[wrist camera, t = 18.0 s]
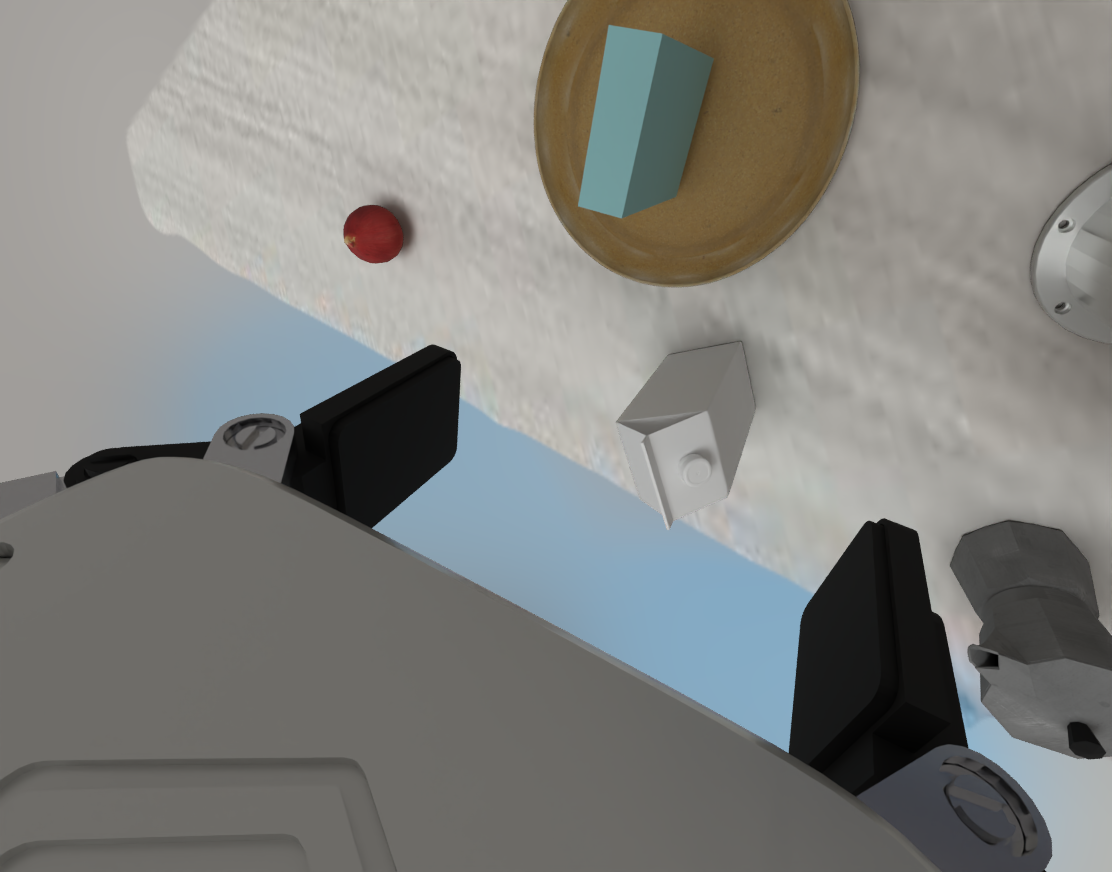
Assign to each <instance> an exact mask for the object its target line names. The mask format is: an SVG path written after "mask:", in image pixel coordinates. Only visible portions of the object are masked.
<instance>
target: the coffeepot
mask: <svg viewBox="0 0 1112 872" xmlns="http://www.w3.org/2000/svg"><path fill="white" fill-rule="evenodd" d="M950 567H951V569H952V570H953V572H954V574H955V576H956V578H957V580H958V581H959V583H960V585H961V587H962V589H963V590H964V592H965V594H966V596H967V598H968V599H969V601H970V603H971V605H972V607H973V608H974V610H975V612H976V614H977V615H978V616H979V618H980V619H981V620H982V622H983V623H984V624H983V626H982V628H981V631H980V633H979V642H980V645H974V644H972V645H970V646H969V647H968V657H969V661H970V662H971V663H972V664H973V665H974V666H975V668H976V669H977V670H978V671H979V672H980V685H981V702H982V703H983V705H984V706H985V707H986V708H987V709H988V710H989V711H990V713H991V714H992V715H993V716H994V717H995V718H996V719H997V720H998V722H999V723H1000V724H1001V725H1002V726H1003V727H1004V728H1005V730H1006V731H1007V732H1008V733H1009V734H1010V735H1011V736H1012V737H1013V738H1016V739H1019V740H1022V741H1025V742H1028V743H1032V744H1034V745H1038V746H1041V747H1044V748H1047V749H1050V750H1053V751H1056V752H1059V753H1062V754H1065V755H1068V756H1071V757H1074V758H1077V759H1082V758H1086V759H1100V758H1102V757H1110V756H1112V636H1111V634H1110V633H1109V632H1108V631H1107V629H1106V628H1105V627H1104V626H1103V625H1102V623H1101V622H1100V621H1099V620H1098V617H1099V610H1098V605H1097V600H1096V596H1095V591H1094V586H1093V581H1092V576H1091V571H1090V566H1089V562H1088V561H1087V560H1086V559H1085V557H1084V556H1083V555H1082V554H1081V553H1080V551H1079V550H1078V549H1077V547H1076V546H1075V545H1074V544H1073V543H1072V542H1071V541H1070V540H1069V538H1068V537H1067V536H1066V535H1065V534H1064V532H1063V531H1059V530H1055V529H1051V528H1047V527H1044V526H1040V525H1036V524H1030V523H1022V522H1011V521H1007V522H1002V523H998V524H994V525H990V526H986V527H983V528H981V529H978V530H976V531H974V532H972V533H971V534H968V535H965V536H963V537H962V539H961V541H960V543H959V545H958V546H957V548H956V550H955V554H954V557H953V560H952V562H951V564H950Z"/></svg>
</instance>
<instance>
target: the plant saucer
mask: <svg viewBox="0 0 1112 872" xmlns="http://www.w3.org/2000/svg"><path fill="white" fill-rule="evenodd" d="M609 25H612V26H619V27H625V28H631V29H637V30H643V31H649V32H655V33H662V34H664V35H666V36H668V37H670V38H673V39H675V40H677V41H679V42H681V43H683V44H685V45H687V46H689V47H691V48H693V49H695V50H697V51H699V52H702V53H704V54H706V55H708V56H710V57H712V58H714V60H713V64H712V67H711V71H710V75H709V78H708V82H707V86H706V89H705V93H704V97H703V100H702V104H701V108H700V111H699V115H698V119H697V122H696V126H695V130H694V133H693V137H692V141H691V144H690V148H689V152H688V155H687V159H686V163H685V166H684V170H683V174H682V177H681V181H680V185H679V188H678V192H677V196H676V197H675V198H672V199H670V200H667V201H664V202H662V203H659V204H657V205H654V206H652V207H649V208H647V209H644V210H642V211H639V212H637V213H634V214H632V215H629V216H627V217H624V218H618V217H615V216H611V215H608V214H604V213H600V212H597V211H593V210H590V209H586V208H582V207H579V206H578V203H579V197H580V191H581V185H582V179H583V174H584V168H585V162H586V156H587V150H588V144H589V138H590V133H591V127H592V121H593V115H594V109H595V103H596V97H597V92H598V86H599V80H600V74H601V68H602V62H603V56H604V51H605V45H606V39H607V33H608V27H609ZM859 69H860V67H859V50H858V41H857V34H856V29H855V23H854V19H853V16H852V12H851V9H850V6H849V3H848V0H567V2H566V4H565V6H564V7H563V9H562V11H561V13H560V15H559V17H558V19H557V21H556V23H555V25H554V28H553V30H552V33H551V35H550V38H549V41H548V43H547V46H546V49H545V52H544V56H543V59H542V63H541V67H540V71H539V76H538V80H537V86H536V94H535V102H534V138H535V150H536V156H537V162H538V167H539V171H540V175H541V179H542V182H543V185H544V188H545V191H546V194H547V196H548V199H549V201H550V203H551V205H552V207H553V209H554V211H555V213H556V215H557V217H558V219H559V220H560V222H561V223H562V225H563V226H564V228H565V229H566V231H567V232H568V233H569V235H570V236H571V237H572V238H573V240H574V241H575V242H576V243H577V244H578V245H579V247H580V248H581V249H583V250H584V251H585V252H586V253H587V254H588V255H589V256H590V257H592V258H593V259H594V260H595V261H597V262H598V263H599V264H601V265H602V266H604V267H605V268H607V269H609V270H610V271H612V272H614V273H616V274H618V275H620V276H622V277H625V278H627V279H630V280H633V281H636V282H639V283H643V284H648V285H653V286H661V287H690V286H697V285H703V284H708V283H712V282H715V281H718V280H721V279H724V278H727V277H729V276H732V275H734V274H736V273H738V272H740V271H742V270H744V269H746V268H748V267H750V266H752V265H753V264H755V263H757V262H758V261H760V260H761V259H763V258H764V257H766V256H767V255H768V254H770V253H771V252H772V251H774V250H775V249H776V248H778V247H779V246H780V245H781V244H782V243H783V242H784V241H786V240H787V239H788V238H789V237H790V236H791V235H792V234H793V233H794V232H795V231H796V230H797V229H798V227H799V226H800V225H801V224H802V223H803V222H804V221H805V219H806V218H807V217H808V216H809V214H810V213H811V212H812V211H813V209H814V208H815V206H816V205H817V204H818V202H819V200H820V199H821V197H822V196H823V194H824V192H825V191H826V189H827V187H828V186H829V184H830V182H831V180H832V178H833V176H834V174H835V172H836V170H837V168H838V166H839V163H840V161H841V158H842V156H843V153H844V150H845V148H846V145H847V142H848V139H849V136H850V132H851V129H852V125H853V121H854V116H855V111H856V105H857V99H858V89H859Z"/></svg>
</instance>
